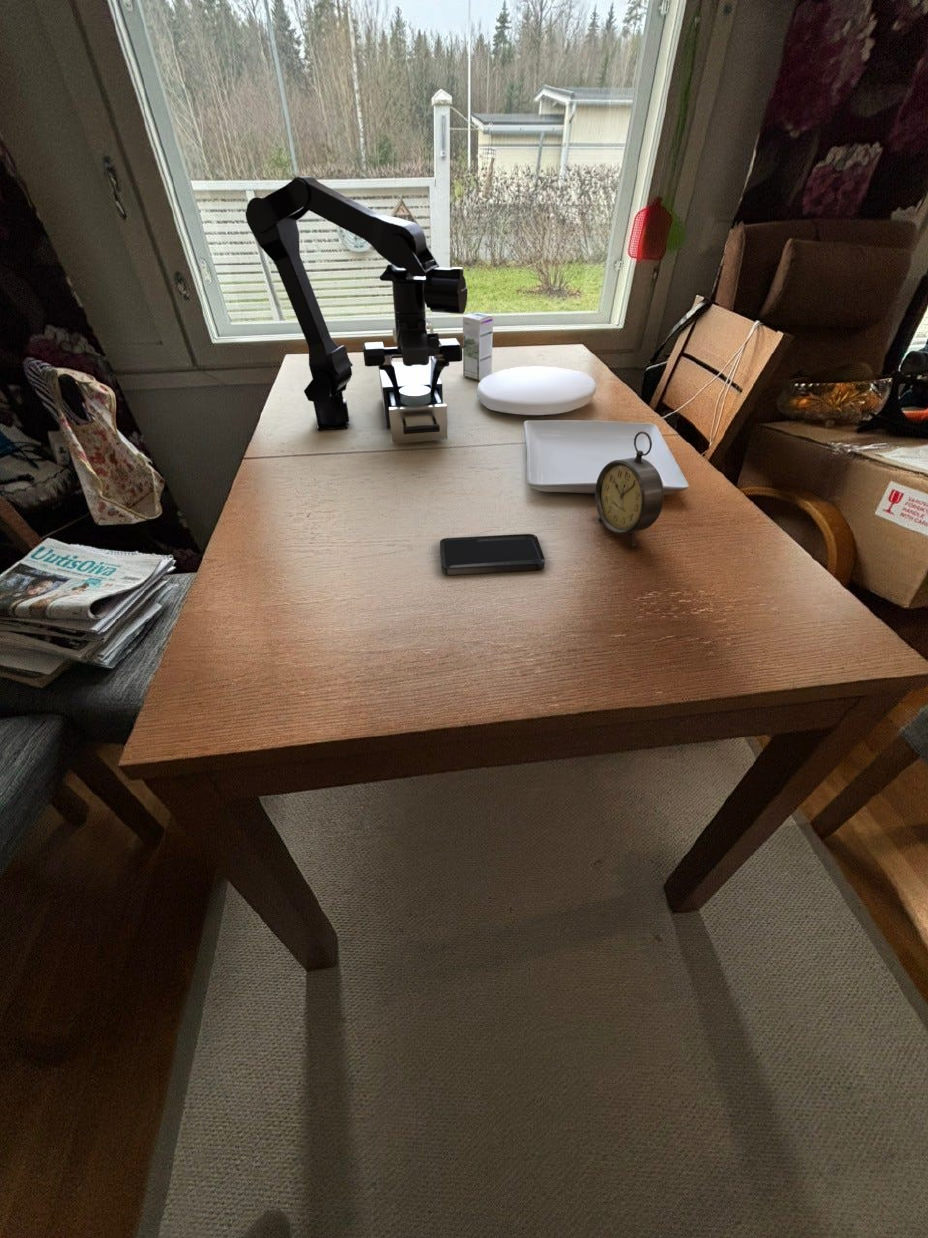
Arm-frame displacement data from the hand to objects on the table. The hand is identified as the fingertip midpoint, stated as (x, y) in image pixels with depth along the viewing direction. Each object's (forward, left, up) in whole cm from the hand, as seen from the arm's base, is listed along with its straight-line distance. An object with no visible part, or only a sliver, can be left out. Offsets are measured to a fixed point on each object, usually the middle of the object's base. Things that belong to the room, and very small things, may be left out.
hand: (415, 397), depth 103 cm
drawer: (0, 0, -7) cm, 7 cm away
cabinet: (0, +13, -8) cm, 15 cm away
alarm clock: (+28, -43, -8) cm, 52 cm away
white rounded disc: (+30, +14, -8) cm, 34 cm away
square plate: (+32, -21, -8) cm, 39 cm away
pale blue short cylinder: (0, 0, -1) cm, 1 cm away
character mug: (+4, +41, -8) cm, 42 cm away
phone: (+6, -46, -8) cm, 47 cm away
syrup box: (+20, +35, -8) cm, 41 cm away
